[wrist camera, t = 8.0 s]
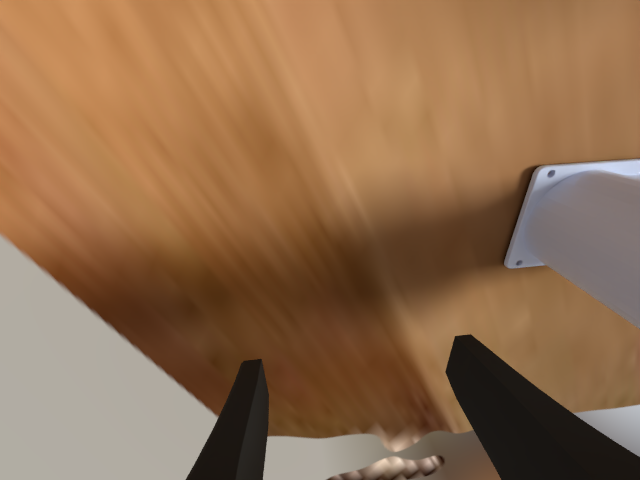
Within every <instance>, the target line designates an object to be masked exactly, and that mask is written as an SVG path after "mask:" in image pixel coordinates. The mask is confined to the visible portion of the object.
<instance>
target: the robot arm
mask: <svg viewBox="0 0 640 480" xmlns="http://www.w3.org/2000/svg"><path fill="white" fill-rule="evenodd" d="M549 172H550V173H549ZM548 173H549V174H548ZM517 261H518V262H517ZM504 265H505V266H506V267H507V268H510V269H512V268H522V267H532V266H542V265H547V266H548V267H550V268H551V269H553V270H554V271H556V272H557V273H559V274H560V275H562V276H563V277H564V278H566V279H567V280H569V281H570V282H572V283H573V284H575V285H576V286H578V287H579V288H580V289H582V290H583V291H585V292H586V293H588V294H589V295H591V296H592V297H594V298H595V299H597V300H598V301H599V302H601V303H602V304H604V305H605V306H607V307H608V308H610V309H611V310H613V311H614V312H616V313H617V314H618V315H620V316H621V317H623V318H624V319H626V320H627V321H629V322H630V323H632V324H633V325H634V326H636V327H637V328H639V329H640V159H626V160H612V161H598V162H584V163H570V164H556V165H542V166H539V167H538V168H536V170H535V171H534V173H533V175H532V178H531V181H530V184H529V187H528V190H527V193H526V197H525V200H524V203H523V206H522V209H521V212H520V215H519V218H518V221H517V224H516V227H515V230H514V233H513V236H512V239H511V242H510V245H509V248H508V251H507V255H506V258H505V261H504ZM446 374H447V377H448V379H449V382H450V384H451V387H452V389H453V391H454V393H455V396H456V398H457V400H458V402H459V404H460V406H461V408H462V409H463V411H464V413H465V415H466V417H467V419H468V420H469V422H470V424H471V426H472V427H473V429H474V431H475V433H476V435H477V436H478V438H479V440H480V442H481V443H482V445H483V447H484V449H485V450H486V452H487V454H488V456H489V457H490V459H491V461H492V463H493V465H494V466H495V468H496V470H497V472H498V474H499V476H500V478H501V480H640V457H639V456H637V455H635V454H634V453H632V452H630V451H629V450H627V449H626V448H624V447H622V446H621V445H619V444H618V443H616V442H614V441H613V440H612V439H610V438H609V437H607V436H605V435H604V434H602V433H601V432H599V431H598V430H596V429H595V428H593V427H592V426H590V425H589V424H587V423H586V422H584V421H583V420H581V419H580V418H578V417H577V416H576V415H574V414H573V413H571V412H570V411H569V410H567V409H566V408H564V407H563V406H562V405H560V404H559V403H557V402H556V401H555V400H553V399H552V398H551V397H549V396H548V395H547V394H545V393H544V392H543V391H541V390H540V389H539V388H537V387H536V386H535V385H533V384H532V383H531V382H529V381H528V380H527V379H526V378H524V377H523V376H522V375H520V374H519V373H518V372H517V371H515V370H514V369H513V368H512V367H510V366H509V365H508V364H507V363H505V362H504V361H503V360H502V359H500V358H499V357H498V356H497V355H496V354H494V353H493V352H492V351H491V350H489V349H488V348H487V347H486V346H485V345H483V344H482V343H481V342H480V341H478V340H477V339H476V338H475V337H473V336H472V335H471V334H470V335H461V336H455V338H454V342H453V346H452V350H451V353H450V357H449V361H448V364H447V368H446ZM268 414H269V393H268V388H267V384H266V379H265V374H264V369H263V364H262V359H257V360H248V361H244V362H243V363H241V366H240V369H239V372H238V374H237V377H236V380H235V382H234V385H233V387H232V389H231V392H230V394H229V396H228V399H227V401H226V403H225V405H224V407H223V409H222V411H221V414H220V416H219V418H218V420H217V422H216V424H215V426H214V428H213V430H212V432H211V434H210V436H209V438H208V440H207V442H206V444H205V446H204V447H203V449H202V451H201V453H200V455H199V457H198V459H197V461H196V462H195V464H194V466H193V468H192V470H191V471H190V473H189V475H188V477H187V479H186V480H263V471H264V461H265V453H266V442H267V434H268Z"/></svg>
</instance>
